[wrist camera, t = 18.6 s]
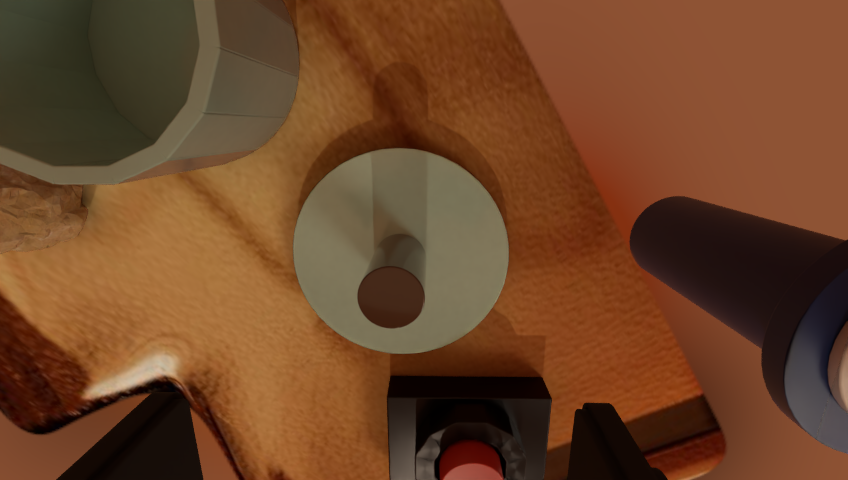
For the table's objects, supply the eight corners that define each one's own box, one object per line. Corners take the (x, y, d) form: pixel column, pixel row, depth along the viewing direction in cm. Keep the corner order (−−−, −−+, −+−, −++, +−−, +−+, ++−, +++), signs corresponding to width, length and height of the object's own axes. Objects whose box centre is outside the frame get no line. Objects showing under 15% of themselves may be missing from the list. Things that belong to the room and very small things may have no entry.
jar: (288, -73, 20) (186, -215, 11) (308, 163, 23) (238, 184, 14) (60, -70, 20) (-202, -208, 12) (110, 164, 23) (-68, 184, 15)
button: (501, 439, 23) (506, 463, 22) (498, 487, 24) (503, 515, 23) (439, 438, 23) (440, 462, 22) (439, 487, 24) (439, 514, 23)
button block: (542, 376, 26) (561, 419, 22) (534, 463, 28) (551, 516, 24) (390, 375, 26) (383, 417, 22) (392, 461, 28) (386, 514, 24)
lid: (511, 146, 22) (543, 154, 16) (500, 344, 26) (523, 418, 19) (289, 146, 22) (232, 155, 16) (307, 343, 26) (266, 415, 19)
